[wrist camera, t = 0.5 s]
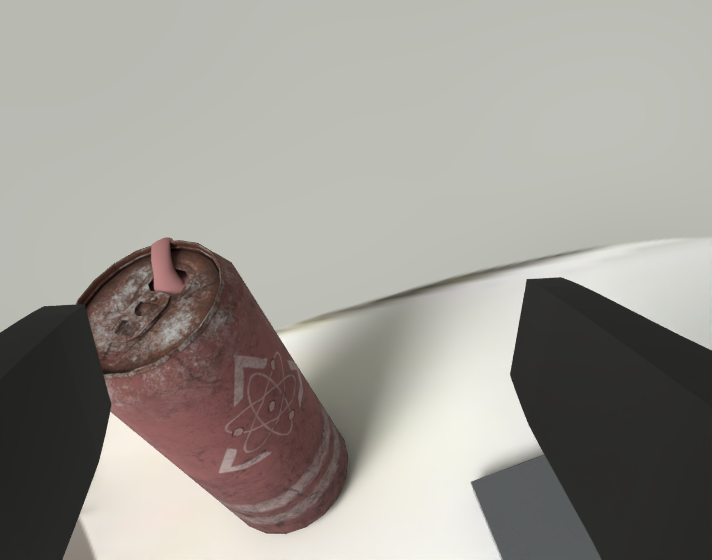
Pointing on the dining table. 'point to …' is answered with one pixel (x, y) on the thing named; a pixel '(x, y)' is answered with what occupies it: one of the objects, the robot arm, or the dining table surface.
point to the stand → (532, 514)
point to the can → (214, 385)
